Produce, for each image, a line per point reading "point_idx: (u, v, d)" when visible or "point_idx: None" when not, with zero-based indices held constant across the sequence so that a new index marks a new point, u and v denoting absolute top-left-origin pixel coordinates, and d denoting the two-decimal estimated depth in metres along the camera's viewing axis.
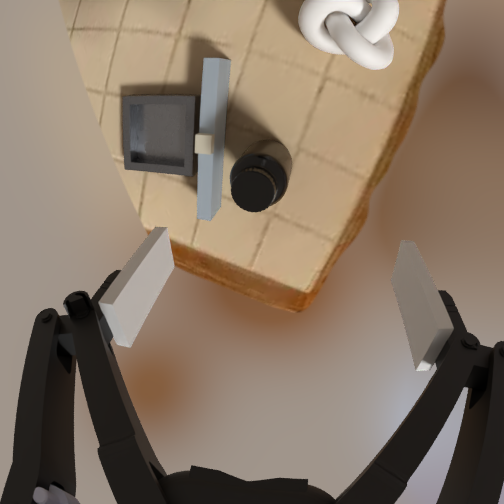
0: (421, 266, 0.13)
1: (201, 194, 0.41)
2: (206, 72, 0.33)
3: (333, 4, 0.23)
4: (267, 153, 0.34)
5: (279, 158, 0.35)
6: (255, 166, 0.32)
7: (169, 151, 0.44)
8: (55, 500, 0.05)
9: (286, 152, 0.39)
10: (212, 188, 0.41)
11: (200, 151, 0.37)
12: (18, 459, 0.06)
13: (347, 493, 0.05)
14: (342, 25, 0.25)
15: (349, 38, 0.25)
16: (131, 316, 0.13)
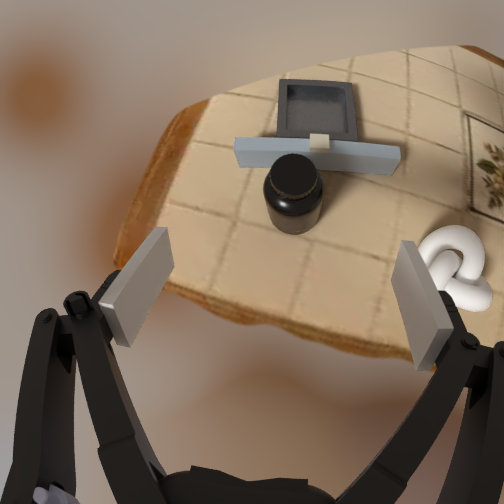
0: (421, 266, 0.13)
1: (263, 141, 0.39)
2: (386, 148, 0.37)
3: (472, 249, 0.29)
4: (323, 195, 0.34)
5: (317, 209, 0.34)
6: (317, 178, 0.31)
7: (297, 120, 0.44)
8: (55, 500, 0.05)
9: (312, 225, 0.39)
10: (270, 151, 0.39)
11: (312, 138, 0.37)
12: (18, 459, 0.06)
13: (347, 493, 0.05)
14: (455, 260, 0.30)
15: (448, 265, 0.29)
16: (131, 316, 0.13)
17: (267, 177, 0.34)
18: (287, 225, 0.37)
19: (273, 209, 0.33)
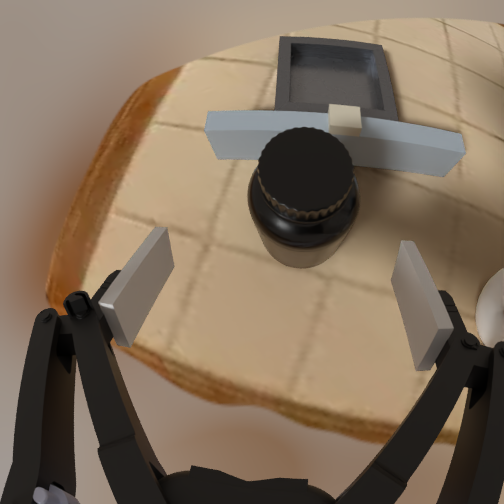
0: (421, 266, 0.13)
1: (252, 116, 0.23)
2: (444, 134, 0.21)
3: None
4: None
5: (346, 234, 0.18)
6: None
7: (305, 91, 0.29)
8: (55, 499, 0.05)
9: (330, 255, 0.23)
10: (263, 132, 0.23)
11: (333, 111, 0.21)
12: (18, 459, 0.06)
13: (347, 493, 0.05)
14: None
15: None
16: (131, 316, 0.13)
17: (255, 173, 0.18)
18: (290, 258, 0.21)
19: (265, 234, 0.18)
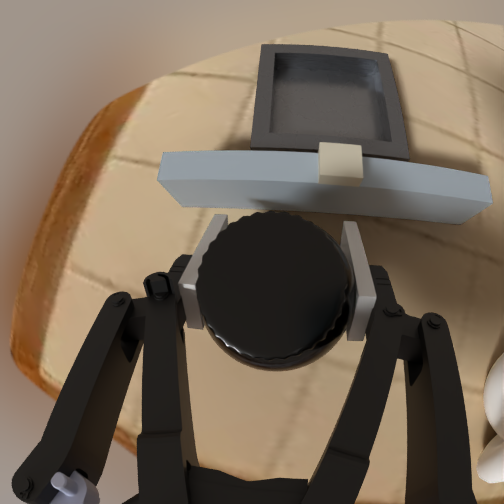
0: (357, 242, 0.15)
1: (217, 158, 0.18)
2: (468, 178, 0.16)
3: None
4: None
5: None
6: None
7: (292, 115, 0.24)
8: (74, 487, 0.06)
9: None
10: (232, 181, 0.18)
11: (324, 153, 0.16)
12: (47, 439, 0.07)
13: (312, 484, 0.06)
14: None
15: None
16: None
17: None
18: None
19: (222, 348, 0.13)
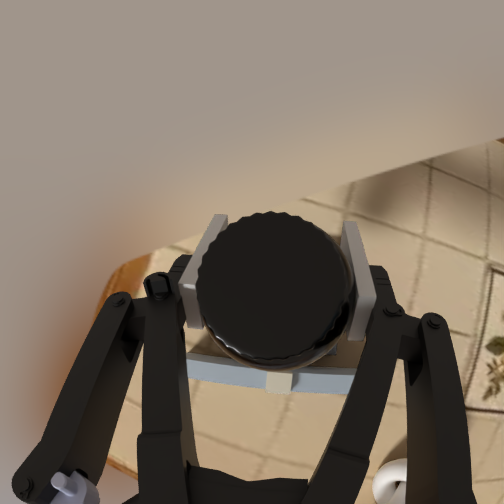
0: (356, 242, 0.15)
1: (207, 368, 0.30)
2: None
3: None
4: None
5: None
6: None
7: None
8: (74, 487, 0.06)
9: None
10: (217, 382, 0.30)
11: (269, 379, 0.28)
12: (47, 439, 0.07)
13: (312, 484, 0.06)
14: None
15: None
16: None
17: None
18: None
19: (222, 349, 0.13)
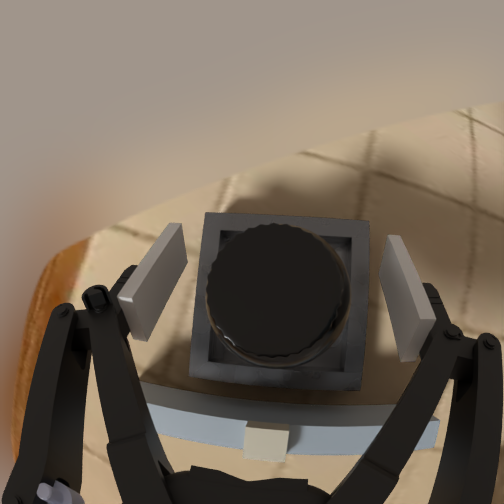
0: (406, 259, 0.14)
1: (152, 412, 0.17)
2: None
3: None
4: None
5: None
6: None
7: None
8: (59, 496, 0.05)
9: None
10: (168, 434, 0.17)
11: (249, 439, 0.15)
12: (24, 453, 0.06)
13: (339, 490, 0.05)
14: None
15: None
16: (148, 310, 0.14)
17: None
18: None
19: (227, 348, 0.14)
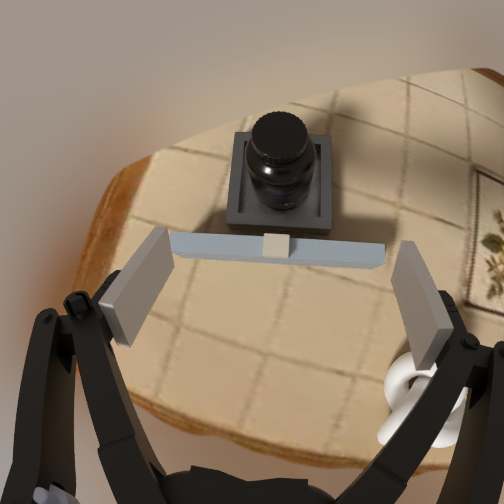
0: (421, 266, 0.13)
1: (204, 239, 0.31)
2: (367, 247, 0.30)
3: None
4: None
5: (308, 177, 0.29)
6: None
7: None
8: (55, 499, 0.05)
9: (301, 197, 0.34)
10: (213, 253, 0.31)
11: (266, 241, 0.30)
12: (18, 459, 0.06)
13: (347, 493, 0.05)
14: None
15: None
16: (131, 316, 0.13)
17: (249, 140, 0.28)
18: (273, 197, 0.31)
19: (256, 177, 0.28)
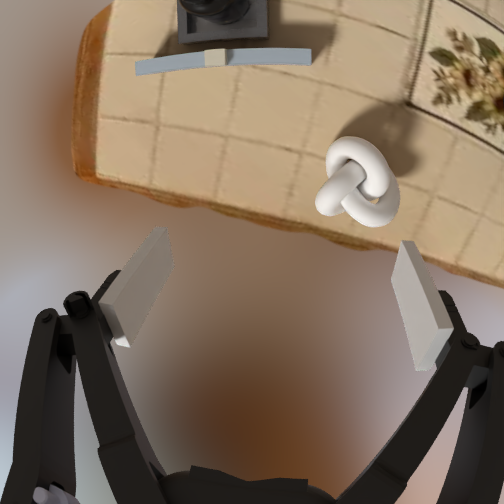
0: (421, 266, 0.13)
1: (161, 61, 0.32)
2: (294, 52, 0.30)
3: (372, 175, 0.34)
4: None
5: (234, 4, 0.26)
6: None
7: None
8: (55, 499, 0.05)
9: (239, 14, 0.30)
10: (170, 70, 0.33)
11: (206, 55, 0.31)
12: (18, 459, 0.06)
13: (347, 493, 0.05)
14: (352, 182, 0.35)
15: (340, 189, 0.35)
16: (131, 316, 0.13)
17: None
18: (210, 20, 0.29)
19: (189, 12, 0.26)
